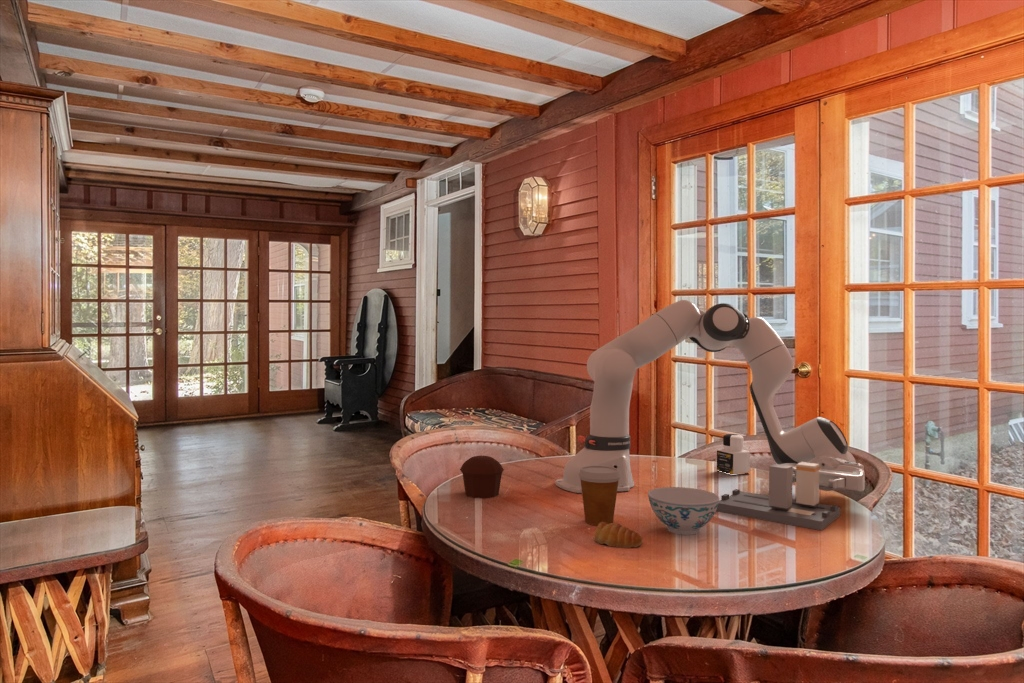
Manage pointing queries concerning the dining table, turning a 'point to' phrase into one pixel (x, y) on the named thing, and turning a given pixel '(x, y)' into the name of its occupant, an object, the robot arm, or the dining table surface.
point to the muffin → (482, 477)
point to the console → (777, 510)
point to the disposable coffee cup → (599, 493)
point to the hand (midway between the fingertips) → (810, 481)
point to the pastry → (616, 535)
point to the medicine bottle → (733, 455)
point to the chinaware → (683, 508)
